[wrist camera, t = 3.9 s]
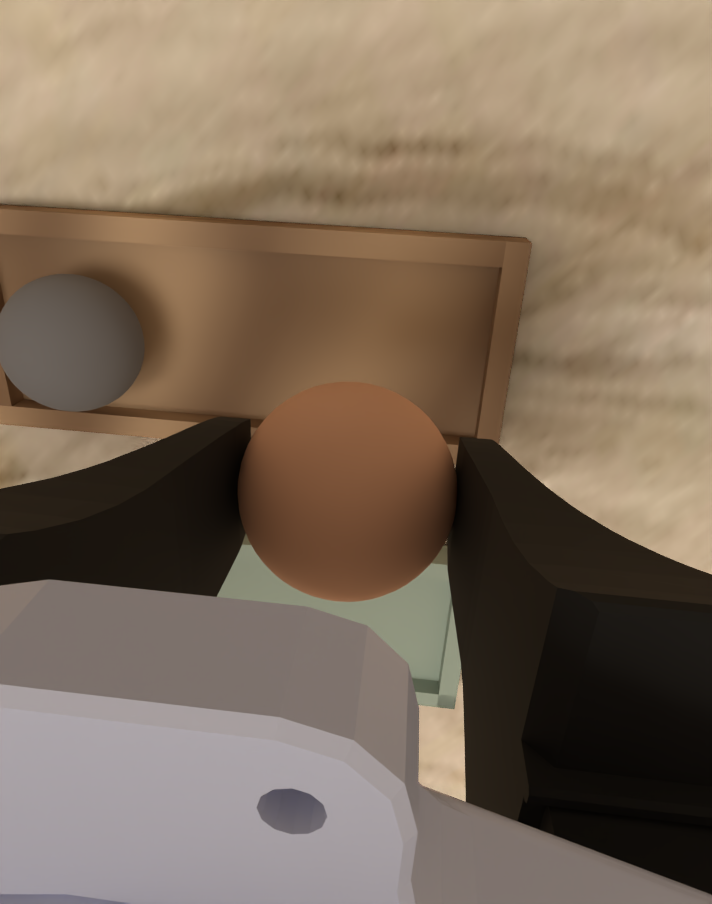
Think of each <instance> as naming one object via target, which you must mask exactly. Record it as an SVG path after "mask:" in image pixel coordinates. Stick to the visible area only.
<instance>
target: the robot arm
mask: <svg viewBox="0 0 712 904" xmlns="http://www.w3.org/2000/svg"><path fill="white" fill-rule="evenodd" d="M250 440H251V419H244V418H232V417H221V416H220V417H215V418H212V419H209V420H206V421H204V422H201V423H199V424H196V425H194V426H192V427H189V428H187V429H185V430H182V431H180V432H178V433H176V434H173V435H171V436H169V437H167V438H164V439H162V440H160V441H157V442H155V443H153V444H150V445H148V446H145V447H143V448H140V449H138V450H135V451H133V452H130V453H128V454H125V455H122V456H120V457H117V458H115V459H112V460H110V461H107V462H104V463H101V464H98V465H95V466H92V467H89V468H86V469H82V470H79V471H75V472H72V473H68V474H65V475H61V476H58V477H54V478H50V479H45V480H41V481H36V482H31V483H26V484H22V485H17V486H12V487H7V488H3V489H0V904H712V575H711V574H708V573H706V572H703V571H700V570H697V569H695V568H692V567H689V566H687V565H684V564H682V563H679V562H677V561H674V560H672V559H670V558H667V557H665V556H662V555H660V554H658V553H656V552H654V551H652V550H649V549H647V548H645V547H643V546H641V545H639V544H637V543H635V542H632V541H630V540H628V539H626V538H624V537H623V536H621V535H619V534H617V533H615V532H613V531H611V530H610V529H608V528H606V527H605V526H603V525H601V524H600V523H598V522H596V521H595V520H593V519H591V518H590V517H588V516H586V515H585V514H583V513H582V512H580V511H579V510H577V509H576V508H574V507H573V506H571V505H570V504H568V503H567V502H566V501H564V500H563V499H562V498H560V497H559V496H558V495H556V494H555V493H554V492H552V491H551V490H550V489H548V488H547V487H546V486H545V485H544V484H542V483H541V482H540V481H539V480H538V479H536V478H535V477H534V476H533V475H532V474H531V473H529V472H528V471H527V470H526V469H525V468H524V467H523V466H522V465H520V464H519V463H518V462H517V461H516V460H515V459H514V458H513V457H512V456H511V455H510V454H509V453H507V452H506V451H505V450H504V449H503V448H502V447H501V446H500V445H499V444H497V443H496V442H495V441H494V440H492V439H481V438H469V437H460V438H459V445H458V452H457V460H456V467H455V471H456V476H457V503H456V511H455V517H454V521H453V524H452V527H451V530H450V532H449V535H448V538H447V570H448V577H449V584H450V592H451V599H452V606H453V613H454V620H455V626H456V633H457V640H458V647H459V654H460V661H461V670H462V680H463V701H464V732H465V777H466V802H464V801H462V800H459V799H456V798H454V797H451V796H449V795H446V794H443V793H441V792H438V791H435V790H433V789H430V788H427V787H425V786H422V785H421V784H420V783H419V782H418V762H419V706H418V702H417V698H416V693H415V689H414V685H413V681H412V676H411V672H410V668H409V664H408V663H407V662H406V661H405V660H404V659H403V658H402V657H401V656H399V655H398V654H397V653H396V652H395V651H394V650H393V649H392V648H391V647H390V646H389V645H388V644H387V643H386V642H385V641H383V640H382V639H381V638H380V637H379V636H378V635H377V634H376V633H375V632H374V631H373V630H372V629H371V628H370V627H368V626H367V625H364V624H361V623H358V622H354V621H351V620H348V619H345V618H342V617H339V616H336V615H332V614H329V613H326V612H323V611H320V610H317V609H314V608H311V607H307V606H298V605H288V604H279V603H269V602H260V601H250V600H241V599H231V598H222V597H217V595H218V593H219V591H220V589H221V587H222V585H223V583H224V581H225V579H226V577H227V575H228V573H229V571H230V569H231V567H232V565H233V563H234V561H235V559H236V557H237V555H238V553H239V551H240V549H241V546H242V543H243V540H244V537H245V534H246V532H245V530H244V527H243V525H242V521H241V517H240V513H239V504H238V494H237V493H238V478H239V472H240V467H241V462H242V459H243V456H244V453H245V451H246V448H247V446H248V444H249V442H250Z"/></svg>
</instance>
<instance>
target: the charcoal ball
mask: <svg viewBox="0 0 712 904" xmlns="http://www.w3.org/2000/svg"><path fill="white" fill-rule="evenodd" d="M144 352H145V344H144V336H143V332H142V328H141V325H140V322H139V320H138V318H137V316H136V314H135V312H134V311H133V309H132V308H131V307H130V305H129V304H128V303H127V302H126V301H125V299H124V298H123V297H121V296H120V295H119V294H118V293H117V292H116V291H114V290H113V289H112V288H110V287H109V286H107V285H105V284H103V283H102V282H99V281H97V280H94V279H92V278H89V277H85V276H81V275H75V274H55V275H49V276H44V277H41V278H38V279H36V280H33V281H31V282H29V283H27V284H25V285H24V286H23V287H21V288H20V289H19V290H17V291H16V292H15V293H14V294H13V295H12V296H11V297H10V298H9V300H8V301H7V303H6V304H5V306H4V307H3V308H2V311H1V313H0V363H1V366H2V368H3V370H4V372H5V373H6V375H7V376H8V378H9V379H10V380H11V382H12V383H13V384H14V385H15V386H16V387H17V388H18V389H19V390H20V391H21V392H22V393H24V394H25V395H26V396H28V397H29V398H31V399H32V400H34V401H36V402H38V403H40V404H42V405H44V406H47V407H49V408H53V409H57V410H63V411H71V412H79V411H88V410H93V409H97V408H100V407H103V406H105V405H108V404H110V403H111V402H113V401H115V400H116V399H118V398H120V397H121V396H122V395H123V394H124V393H125V392H126V391H127V390H128V389H129V388H130V387H131V386H132V385H133V383H134V381H135V380H136V378H137V376H138V375H139V372H140V370H141V367H142V363H143V359H144Z"/></svg>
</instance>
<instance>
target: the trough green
mask: <svg viewBox="0 0 712 904" xmlns="http://www.w3.org/2000/svg"><path fill="white" fill-rule="evenodd" d="M217 597H222V598H231V599H241V600H250V601H260V602H269V603H279V604H288V605H298V606H307V607H311V608H314V609H317V610H320V611H323V612H326V613H329V614H332V615H336V616H339V617H342V618H345V619H348V620H351V621H354V622H358V623H361V624H364V625H367V626H368V627H370V628H371V629H372V630H373V631H374V632H375V633H376V634H377V635H378V636H379V637H380V638H381V639H382V640H383V641H385V642H386V643H387V644H388V645H389V646H390V647H391V648H392V649H393V650H394V651H395V652H396V653H397V654H398V655H399V656H401V657H402V658H403V659H404V660H405V661H406V662H407V663H408V664H409V668H410V672H411V676H412V681H413V685H414V689H415V693H416V698H417V702H418V705H423V706H432V707H440V708H449V709H454V708H455V702H456V696H457V690H458V684H459V678H460V672H461V661H460V654H459V647H458V640H457V633H456V626H455V620H454V613H453V606H452V599H451V592H450V584H449V577H448V570H447V546H444V545H443V547H442V549H441V550H440V552H439V553H438V555H437V556H436V558H435V559H434V560H433V561H432V563H431V564H430V565H429V566H428V567H427V568H426V569H425V570H424V571H423V572H422V573H421V574H420V575H419V576H418V577H416V578H415V579H414V580H412V581H411V582H410V583H408V584H407V585H405V586H403V587H402V588H400V589H398V590H396V591H394V592H391V593H389V594H386V595H384V596H381V597H378V598H374V599H371V600H365V601H357V602H339V601H331V600H325V599H321V598H317V597H314V596H311V595H308V594H306V593H303V592H301V591H299V590H297V589H295V588H293V587H291V586H290V585H288V584H287V583H285V582H284V581H282V580H281V579H280V578H278V577H277V576H276V575H275V574H274V573H273V572H272V571H271V570H270V569H269V568H268V567H267V566H266V565H265V564H264V563H263V562H262V560H261V559H260V558H259V556H258V555H257V554H256V552H255V551H254V549H253V547H252V545H251V544H250V542H249V540H248V537H247V535H246V534H245V537H244V540H243V543H242V546H241V549H240V551H239V553H238V555H237V557H236V559H235V561H234V563H233V565H232V567H231V569H230V571H229V573H228V575H227V577H226V579H225V581H224V583H223V585H222V587H221V589H220V591H219V593H218V595H217Z"/></svg>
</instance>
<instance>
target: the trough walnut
mask: <svg viewBox="0 0 712 904" xmlns="http://www.w3.org/2000/svg"><path fill="white" fill-rule="evenodd" d="M531 247H532V243H531V242H530V241H529V240H528V239H527V238H521V237H506V236H490V235H474V234H458V233H443V232H427V231H411V230H395V229H380V228H364V227H348V226H332V225H317V224H301V223H285V222H269V221H254V220H238V219H222V218H207V217H191V216H175V215H159V214H144V213H128V212H112V211H96V210H81V209H65V208H49V207H33V206H18V205H2V204H0V313H1V311H2V308H3V307H4V306H5V304H6V303H7V301H8V300H9V298H10V297H11V296H12V295H13V294H14V293H15V292H16V291H17V290H19V289H20V288H21V287H23V286H24V285H25V284H27V283H29V282H31V281H33V280H36V279H38V278H41V277H44V276H49V275H55V274H75V275H81V276H85V277H89V278H92V279H94V280H97V281H99V282H102V283H103V284H105V285H107V286H109V287H110V288H112V289H113V290H114V291H116V292H117V293H118V294H119V295H120V296H121V297H123V298H124V299H125V301H126V302H127V303H128V304H129V305H130V307H131V308H132V309H133V311H134V312H135V314H136V316H137V318H138V320H139V322H140V325H141V328H142V332H143V336H144V344H145V352H144V359H143V363H142V367H141V370H140V372H139V375H138V376H137V378H136V380H135V381H134V383H133V385H132V386H131V387H130V388H129V389H128V390H127V391H126V392H125V393H124V394H123V395H122V396H121V397H120V398H118V399H116V400H115V401H113V402H111V403H110V404H108V405H105V406H103V407H100V408H97V409H93V410H88V411H79V412H71V411H63V410H57V409H53V408H49V407H47V406H44V405H42V404H40V403H38V402H36V401H34V400H32V399H31V398H29V397H28V396H26V395H25V394H24V393H22V392H21V391H20V390H19V389H18V388H17V387H16V386H15V385H14V384H13V383H12V382H11V380H10V379H9V378H8V376H7V375H6V373H5V372H4V370H3V368H2V366H1V363H0V424H6V425H17V426H28V427H39V428H51V429H62V430H73V431H84V432H96V433H107V434H118V435H129V436H141V437H152V438H163V439H164V438H167V437H169V436H171V435H173V434H176V433H178V432H180V431H182V430H185V429H187V428H189V427H192V426H194V425H196V424H199V423H201V422H204V421H206V420H209V419H212V418H215V417H220V416H221V417H232V418H244V419H251V438H252V436H253V435H254V433H255V431H256V430H257V429H258V427H259V426H260V425H261V423H262V422H263V421H264V420H265V418H266V417H267V416H268V415H269V414H270V413H271V412H272V411H273V410H274V409H275V408H276V407H278V406H279V405H281V404H282V403H283V402H285V401H286V400H287V399H289V398H291V397H292V396H294V395H296V394H298V393H300V392H302V391H304V390H307V389H309V388H312V387H314V386H318V385H323V384H327V383H335V382H361V383H368V384H373V385H376V386H380V387H384V388H386V389H388V390H391V391H393V392H396V393H397V394H399V395H401V396H403V397H404V398H406V399H408V400H409V401H411V402H412V403H413V404H415V405H416V406H417V407H419V408H420V409H421V410H422V411H423V412H424V413H425V414H426V415H427V416H428V417H429V418H430V419H431V420H432V422H433V423H434V424H435V426H436V427H437V428H438V430H439V431H440V433H441V435H442V437H443V438H444V440H445V442H446V444H447V446H448V448H449V451H450V453H451V456H452V459H453V463H454V464H455V465H456V460H457V452H458V445H459V438H460V437H469V438H481V439H492V440H494V441H495V442H496V443H497V444H499V438H500V432H501V426H502V420H503V414H504V408H505V402H506V396H507V390H508V384H509V378H510V372H511V366H512V360H513V354H514V348H515V342H516V337H517V331H518V325H519V319H520V313H521V307H522V301H523V295H524V289H525V283H526V277H527V271H528V265H529V259H530V253H531Z"/></svg>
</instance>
